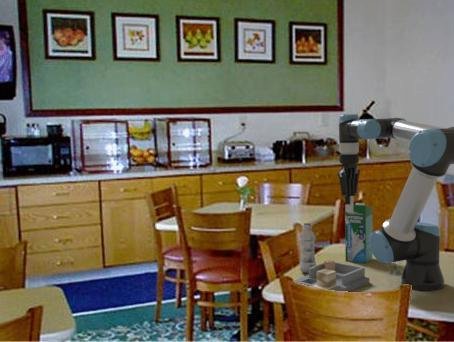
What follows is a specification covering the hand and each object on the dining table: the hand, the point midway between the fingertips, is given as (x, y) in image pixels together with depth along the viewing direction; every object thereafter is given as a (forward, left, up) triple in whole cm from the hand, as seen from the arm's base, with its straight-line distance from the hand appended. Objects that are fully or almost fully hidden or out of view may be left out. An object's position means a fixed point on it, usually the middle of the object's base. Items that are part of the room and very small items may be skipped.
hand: (349, 212), depth 233 cm
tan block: (0, +14, -22) cm, 26 cm away
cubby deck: (-4, +20, -24) cm, 31 cm away
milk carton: (+7, -18, -25) cm, 31 cm away
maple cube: (-7, +26, -22) cm, 35 cm away
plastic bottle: (+12, +12, -25) cm, 30 cm away
